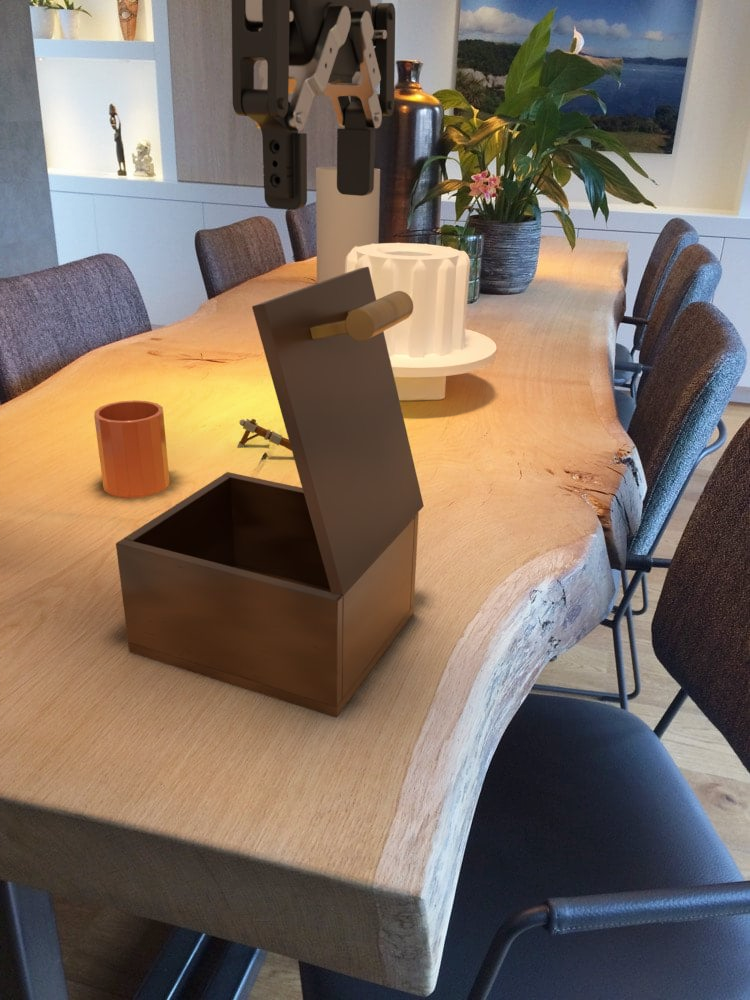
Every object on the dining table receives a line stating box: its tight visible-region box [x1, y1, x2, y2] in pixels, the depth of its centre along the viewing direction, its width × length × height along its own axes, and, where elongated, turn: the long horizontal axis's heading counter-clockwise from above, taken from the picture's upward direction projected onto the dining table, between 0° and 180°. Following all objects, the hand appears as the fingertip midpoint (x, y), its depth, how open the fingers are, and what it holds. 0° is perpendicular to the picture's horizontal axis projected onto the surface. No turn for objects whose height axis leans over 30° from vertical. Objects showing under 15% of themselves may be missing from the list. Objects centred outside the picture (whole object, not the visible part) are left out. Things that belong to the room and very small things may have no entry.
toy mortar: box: [236, 418, 292, 459], centre depth 92 cm, size 2×8×4 cm, turn 93°
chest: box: [115, 471, 420, 718], centre depth 60 cm, size 17×14×9 cm
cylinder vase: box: [315, 166, 381, 284], centre depth 167 cm, size 12×12×25 cm
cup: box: [93, 399, 171, 499], centre depth 81 cm, size 6×6×9 cm
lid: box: [251, 267, 424, 595], centre depth 51 cm, size 17×14×5 cm
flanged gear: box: [345, 242, 497, 402], centre depth 112 cm, size 25×25×19 cm
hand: (322, 201), depth 48 cm, fingers open, 8 cm apart
